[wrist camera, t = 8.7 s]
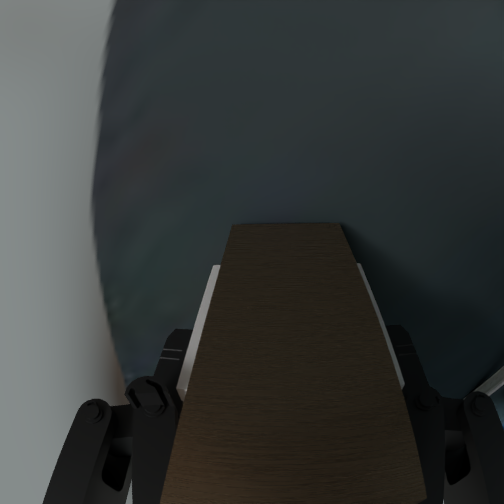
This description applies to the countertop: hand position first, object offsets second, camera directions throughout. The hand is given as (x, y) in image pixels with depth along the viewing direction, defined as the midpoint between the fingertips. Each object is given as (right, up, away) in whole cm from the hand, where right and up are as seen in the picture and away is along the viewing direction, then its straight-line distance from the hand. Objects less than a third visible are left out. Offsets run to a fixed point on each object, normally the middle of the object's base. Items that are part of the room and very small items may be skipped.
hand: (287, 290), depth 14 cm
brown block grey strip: (+1, -8, +6) cm, 10 cm away
